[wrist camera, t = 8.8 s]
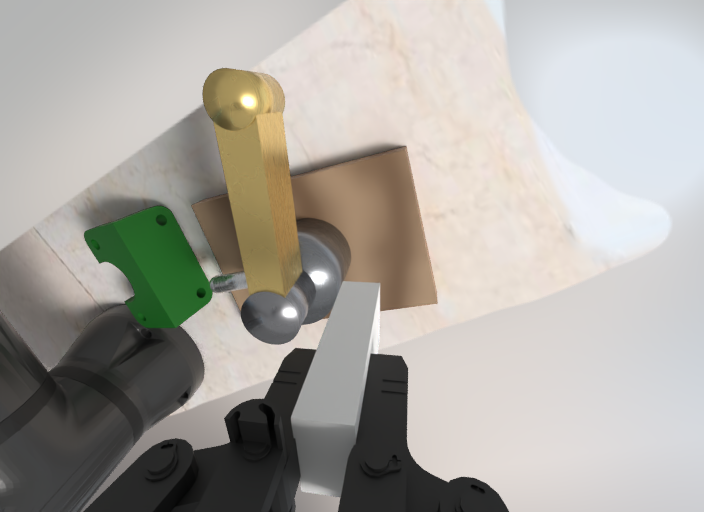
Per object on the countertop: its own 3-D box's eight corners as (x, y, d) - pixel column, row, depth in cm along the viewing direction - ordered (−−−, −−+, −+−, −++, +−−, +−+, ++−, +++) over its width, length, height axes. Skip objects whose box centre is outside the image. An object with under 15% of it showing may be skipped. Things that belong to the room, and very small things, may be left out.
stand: (256, 317, 38) (248, 328, 37) (203, 199, 33) (191, 205, 32) (436, 292, 33) (437, 303, 31) (406, 146, 28) (405, 149, 26)
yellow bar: (318, 312, 26) (302, 346, 23) (269, 309, 27) (246, 342, 23) (291, 70, 19) (262, 64, 16) (227, 75, 20) (185, 71, 17)
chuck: (241, 300, 35) (209, 337, 30) (213, 238, 33) (172, 266, 27) (359, 281, 32) (347, 318, 26) (338, 210, 29) (320, 236, 24)
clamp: (168, 216, 40) (77, 214, 32) (201, 208, 37) (109, 202, 29) (181, 317, 40) (93, 339, 32) (215, 317, 37) (127, 341, 29)
